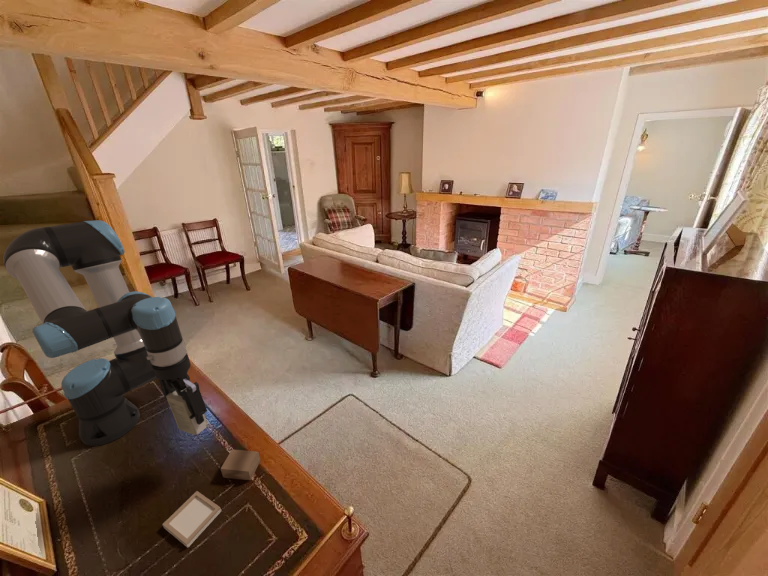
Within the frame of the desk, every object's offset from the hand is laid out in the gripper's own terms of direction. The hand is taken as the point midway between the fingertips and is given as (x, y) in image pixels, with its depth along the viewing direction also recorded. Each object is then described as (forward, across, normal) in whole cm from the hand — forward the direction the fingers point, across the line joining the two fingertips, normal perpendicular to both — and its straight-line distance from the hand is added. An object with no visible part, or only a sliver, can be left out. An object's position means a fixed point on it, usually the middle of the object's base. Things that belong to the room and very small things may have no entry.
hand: (192, 424), depth 87 cm
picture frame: (+14, +12, -12) cm, 22 cm away
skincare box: (+1, 0, 0) cm, 1 cm away
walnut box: (+14, +12, +3) cm, 19 cm away
